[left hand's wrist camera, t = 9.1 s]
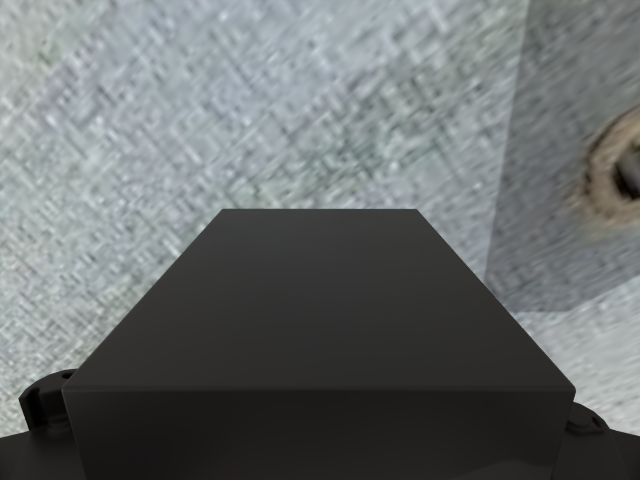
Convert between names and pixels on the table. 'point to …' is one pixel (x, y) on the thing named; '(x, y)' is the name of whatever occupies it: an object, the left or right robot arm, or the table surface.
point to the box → (318, 362)
